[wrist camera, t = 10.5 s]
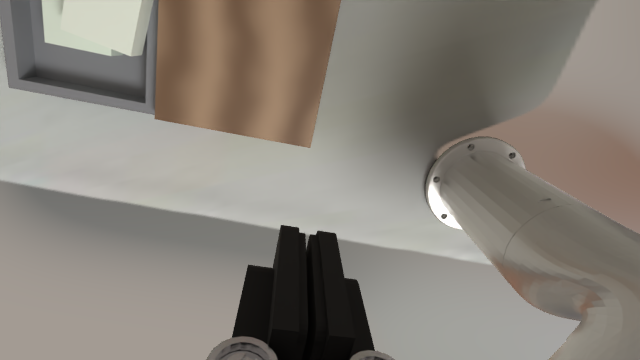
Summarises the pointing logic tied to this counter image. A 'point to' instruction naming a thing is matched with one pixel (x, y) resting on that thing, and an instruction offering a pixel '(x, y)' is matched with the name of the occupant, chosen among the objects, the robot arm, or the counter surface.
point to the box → (76, 63)
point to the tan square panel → (244, 65)
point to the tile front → (109, 22)
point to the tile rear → (55, 35)
